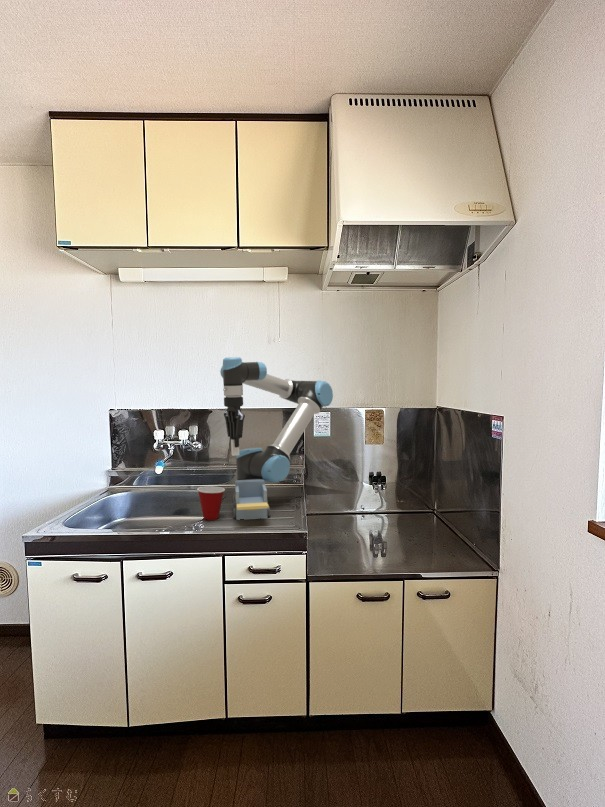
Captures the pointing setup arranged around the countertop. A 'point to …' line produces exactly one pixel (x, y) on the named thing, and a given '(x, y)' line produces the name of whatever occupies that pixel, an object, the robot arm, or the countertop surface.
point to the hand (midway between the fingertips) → (235, 455)
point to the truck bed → (250, 498)
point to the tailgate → (252, 506)
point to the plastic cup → (210, 501)
